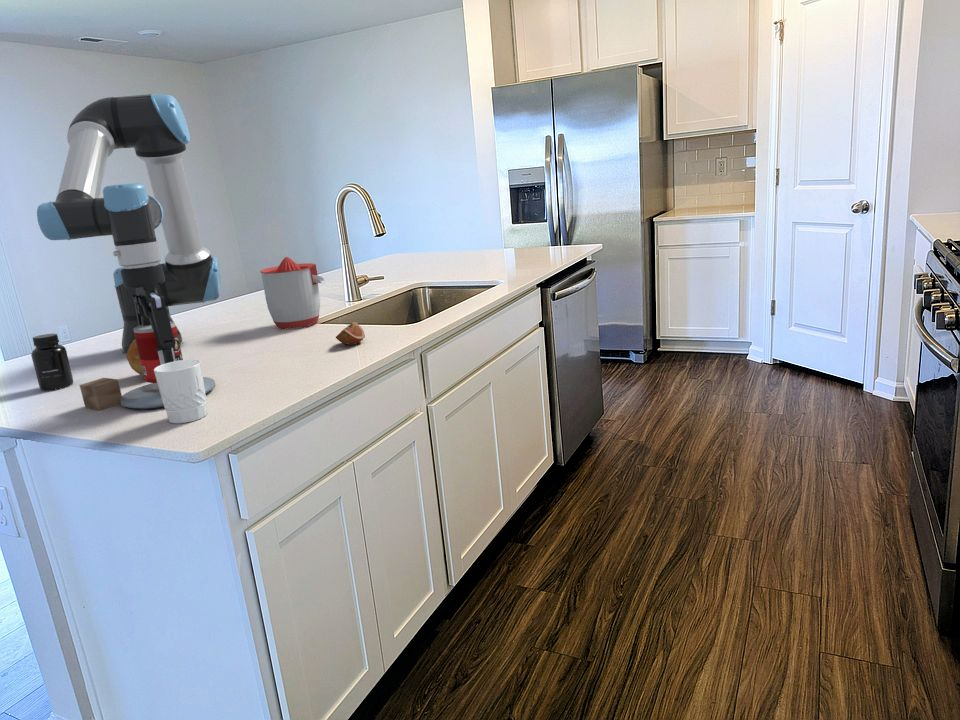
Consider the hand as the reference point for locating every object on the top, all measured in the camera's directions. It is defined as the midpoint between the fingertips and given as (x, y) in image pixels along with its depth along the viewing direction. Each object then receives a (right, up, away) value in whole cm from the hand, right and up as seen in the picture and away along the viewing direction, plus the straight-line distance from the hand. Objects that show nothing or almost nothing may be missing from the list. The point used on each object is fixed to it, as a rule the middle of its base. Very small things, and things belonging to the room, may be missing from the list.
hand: (165, 376), depth 141 cm
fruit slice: (+32, +7, +31) cm, 45 cm away
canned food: (0, 0, 0) cm, 0 cm away
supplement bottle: (-32, -3, +17) cm, 37 cm away
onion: (-11, 0, +19) cm, 22 cm away
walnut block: (-12, -6, -1) cm, 13 cm away
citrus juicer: (+12, +13, +61) cm, 63 cm away
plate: (0, -4, +1) cm, 4 cm away
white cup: (+10, -7, -13) cm, 19 cm away
